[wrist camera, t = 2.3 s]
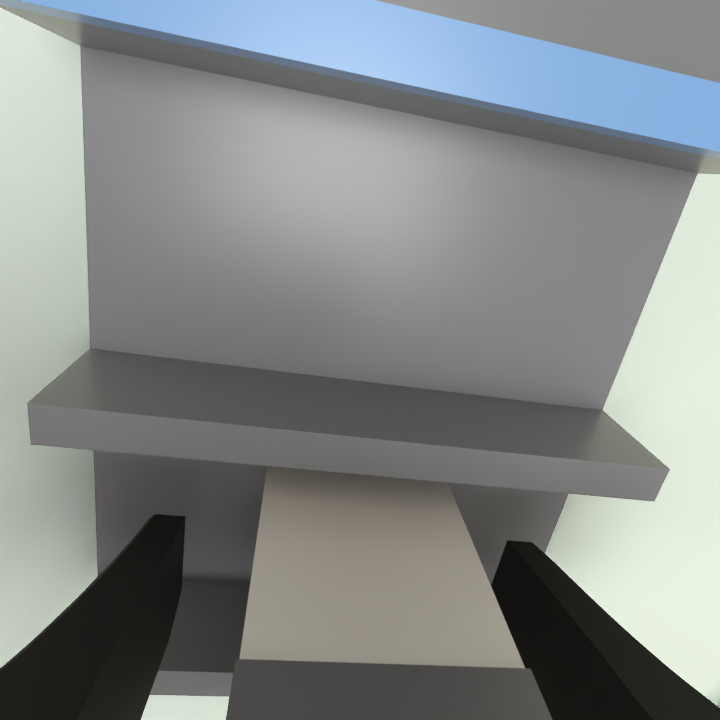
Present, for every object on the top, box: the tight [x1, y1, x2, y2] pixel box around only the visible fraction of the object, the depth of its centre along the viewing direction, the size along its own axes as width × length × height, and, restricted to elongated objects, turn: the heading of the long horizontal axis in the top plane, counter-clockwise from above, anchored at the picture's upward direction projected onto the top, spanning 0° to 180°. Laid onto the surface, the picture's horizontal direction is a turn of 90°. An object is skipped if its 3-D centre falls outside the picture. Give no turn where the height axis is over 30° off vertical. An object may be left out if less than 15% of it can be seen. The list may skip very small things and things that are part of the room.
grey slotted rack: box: [0, 0, 720, 696], centre depth 9 cm, size 12×22×4 cm, turn 170°
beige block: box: [226, 466, 552, 720], centre depth 9 cm, size 4×4×7 cm
